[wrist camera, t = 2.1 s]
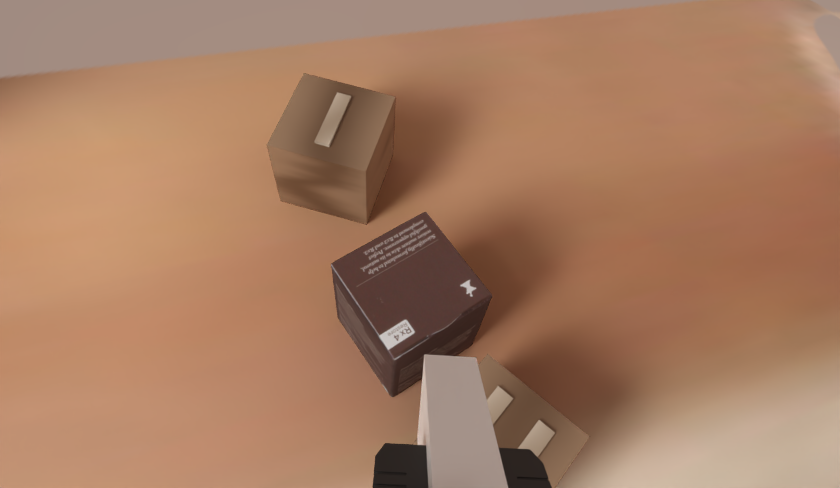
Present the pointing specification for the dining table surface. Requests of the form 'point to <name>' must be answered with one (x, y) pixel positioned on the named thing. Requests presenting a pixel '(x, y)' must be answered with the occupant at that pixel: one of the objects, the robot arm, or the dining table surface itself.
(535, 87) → the dining table surface
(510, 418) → the marked block two
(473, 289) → the box
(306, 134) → the marked block one
